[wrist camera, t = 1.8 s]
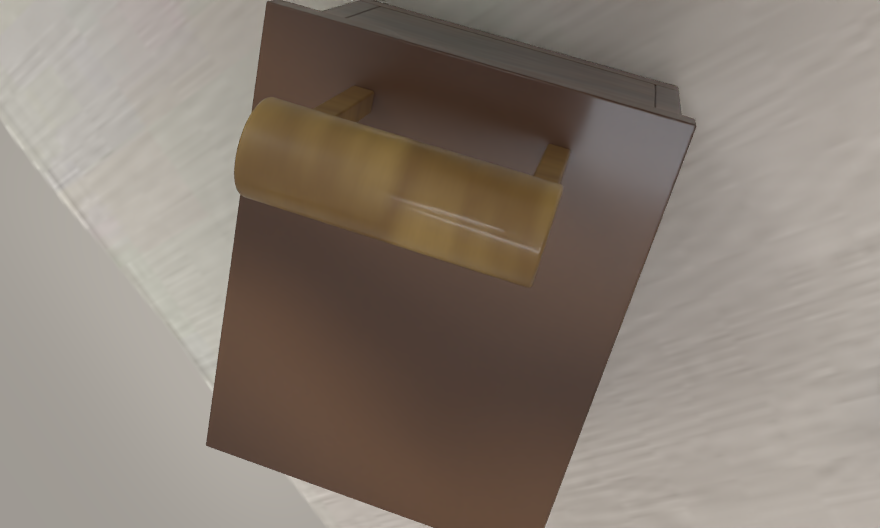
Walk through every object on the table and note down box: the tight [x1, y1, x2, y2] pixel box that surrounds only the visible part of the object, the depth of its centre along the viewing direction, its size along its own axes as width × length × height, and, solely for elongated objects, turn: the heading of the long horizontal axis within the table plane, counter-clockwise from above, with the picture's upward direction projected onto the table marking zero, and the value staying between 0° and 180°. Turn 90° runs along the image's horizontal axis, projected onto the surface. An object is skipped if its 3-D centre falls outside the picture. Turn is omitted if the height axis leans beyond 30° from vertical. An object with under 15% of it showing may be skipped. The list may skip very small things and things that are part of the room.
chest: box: [322, 0, 682, 115], centre depth 32 cm, size 16×13×9 cm
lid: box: [206, 0, 696, 528], centre depth 24 cm, size 17×13×8 cm
